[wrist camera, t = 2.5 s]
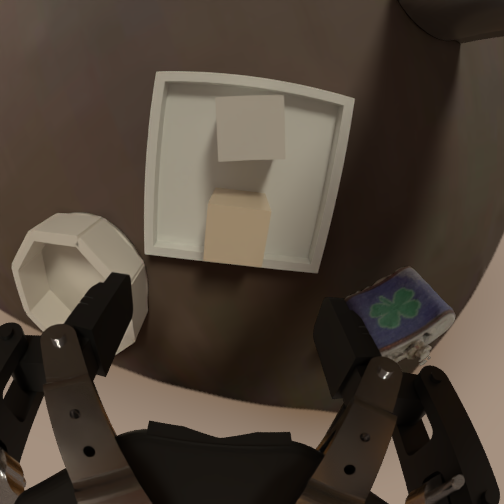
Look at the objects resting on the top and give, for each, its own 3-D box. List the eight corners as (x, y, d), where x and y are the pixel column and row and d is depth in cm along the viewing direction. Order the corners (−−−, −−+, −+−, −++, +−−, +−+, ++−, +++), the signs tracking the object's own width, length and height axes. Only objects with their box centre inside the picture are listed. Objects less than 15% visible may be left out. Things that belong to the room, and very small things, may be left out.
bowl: (146, 217, 23) (124, 241, 18) (153, 335, 29) (141, 369, 24) (34, 208, 22) (3, 226, 17) (55, 314, 28) (36, 340, 23)
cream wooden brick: (265, 193, 22) (271, 211, 17) (258, 239, 23) (261, 267, 19) (215, 187, 21) (207, 203, 17) (210, 233, 23) (203, 261, 19)
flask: (410, 260, 26) (467, 320, 16) (414, 280, 27) (465, 341, 18) (337, 299, 28) (373, 376, 18) (345, 317, 29) (378, 392, 19)
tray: (344, 100, 19) (354, 98, 17) (312, 261, 26) (317, 273, 24) (164, 76, 18) (156, 71, 16) (151, 243, 24) (144, 253, 22)
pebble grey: (274, 103, 19) (283, 95, 14) (275, 152, 20) (285, 159, 16) (221, 105, 19) (215, 97, 14) (223, 154, 20) (218, 161, 16)
